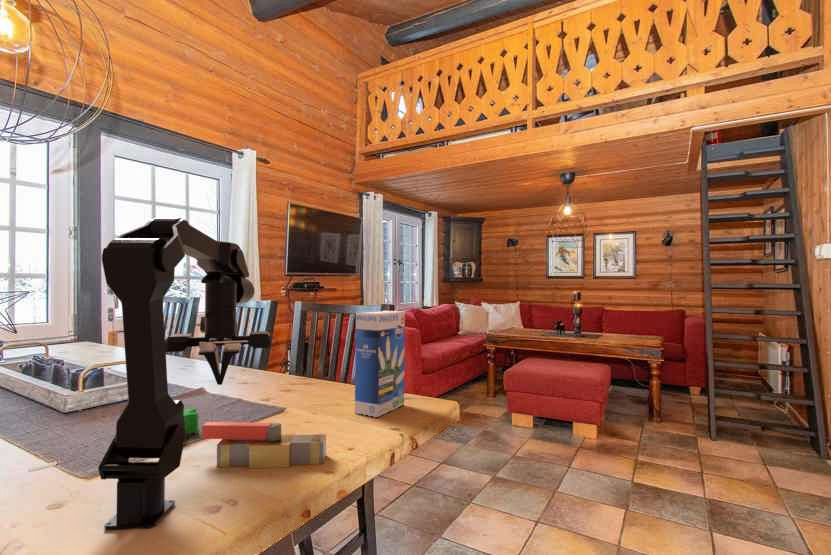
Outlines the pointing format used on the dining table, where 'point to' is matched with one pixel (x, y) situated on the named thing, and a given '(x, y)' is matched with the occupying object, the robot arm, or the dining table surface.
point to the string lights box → (379, 362)
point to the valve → (272, 451)
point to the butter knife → (43, 466)
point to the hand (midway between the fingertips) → (220, 384)
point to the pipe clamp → (191, 421)
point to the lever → (241, 430)
